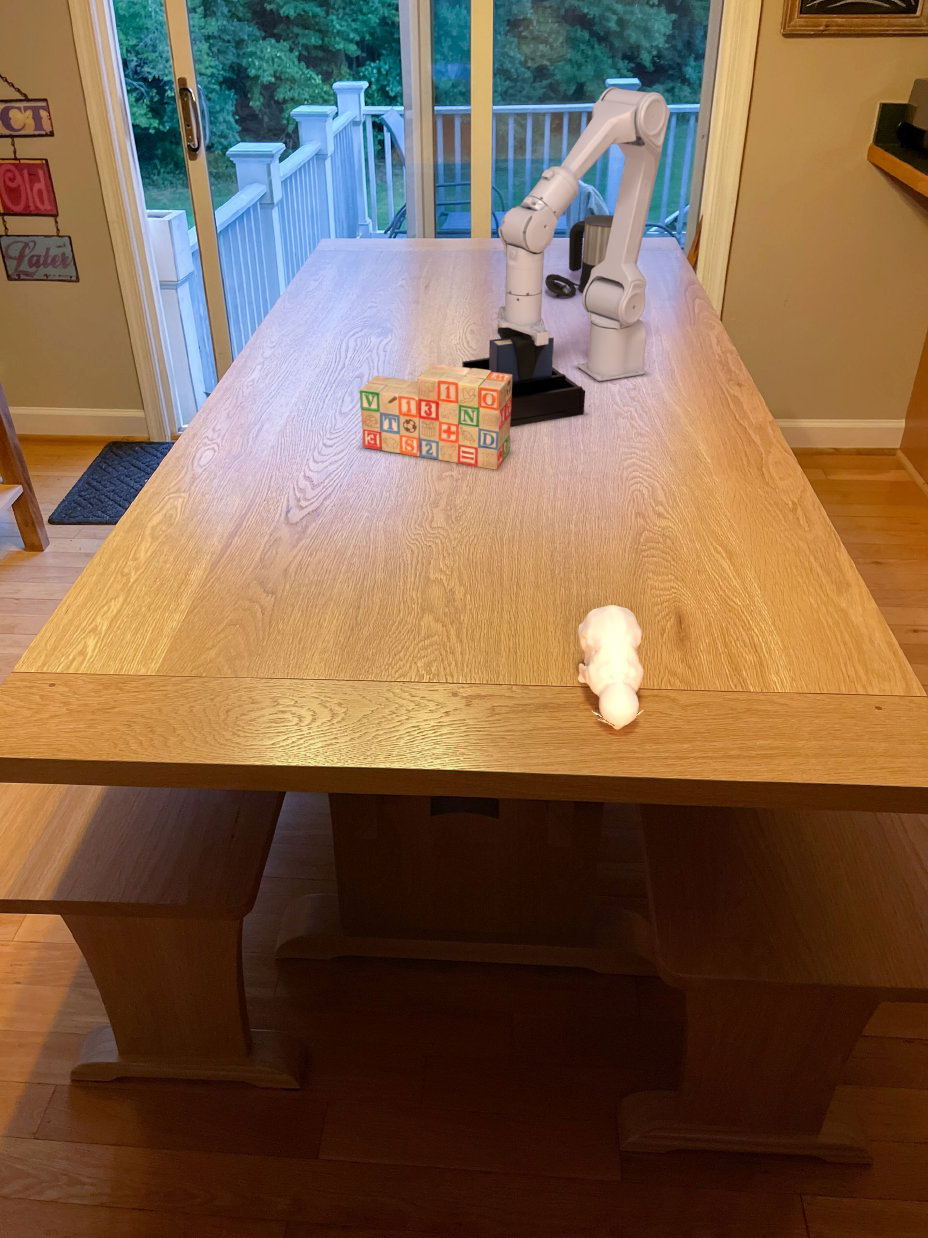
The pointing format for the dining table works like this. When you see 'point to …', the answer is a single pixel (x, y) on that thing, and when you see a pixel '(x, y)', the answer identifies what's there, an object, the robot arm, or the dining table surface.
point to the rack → (540, 396)
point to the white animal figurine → (612, 662)
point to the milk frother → (593, 252)
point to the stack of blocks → (440, 415)
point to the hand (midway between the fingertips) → (520, 374)
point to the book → (506, 361)
